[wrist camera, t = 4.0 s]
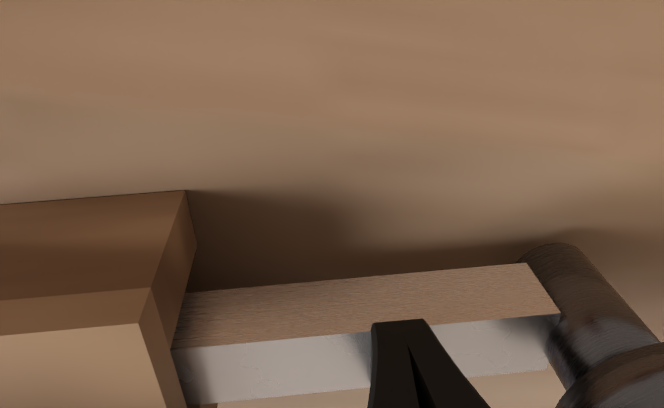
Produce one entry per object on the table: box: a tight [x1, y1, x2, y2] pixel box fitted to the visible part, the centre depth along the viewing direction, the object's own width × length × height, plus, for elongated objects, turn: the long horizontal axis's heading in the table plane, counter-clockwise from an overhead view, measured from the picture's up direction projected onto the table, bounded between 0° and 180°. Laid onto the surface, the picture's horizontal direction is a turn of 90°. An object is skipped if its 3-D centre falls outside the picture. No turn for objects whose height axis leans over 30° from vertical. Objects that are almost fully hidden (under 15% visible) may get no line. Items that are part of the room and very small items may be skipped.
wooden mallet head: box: [0, 190, 218, 408], centre depth 13 cm, size 7×8×5 cm
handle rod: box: [170, 243, 664, 408], centre depth 12 cm, size 4×18×6 cm, turn 93°
